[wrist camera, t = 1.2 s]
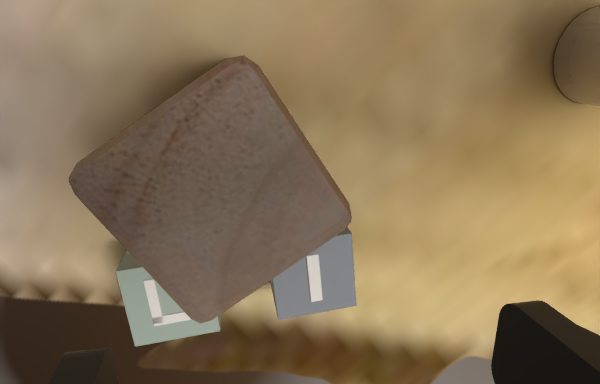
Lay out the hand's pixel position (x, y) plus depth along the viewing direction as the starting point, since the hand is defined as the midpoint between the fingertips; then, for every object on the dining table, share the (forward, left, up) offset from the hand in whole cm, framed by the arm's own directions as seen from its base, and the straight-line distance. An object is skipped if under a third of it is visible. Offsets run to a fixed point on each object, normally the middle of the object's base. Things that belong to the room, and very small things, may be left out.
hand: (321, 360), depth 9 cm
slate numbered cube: (-4, +12, -32) cm, 34 cm away
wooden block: (+2, 0, -32) cm, 32 cm away
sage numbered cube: (+8, +12, -32) cm, 35 cm away
